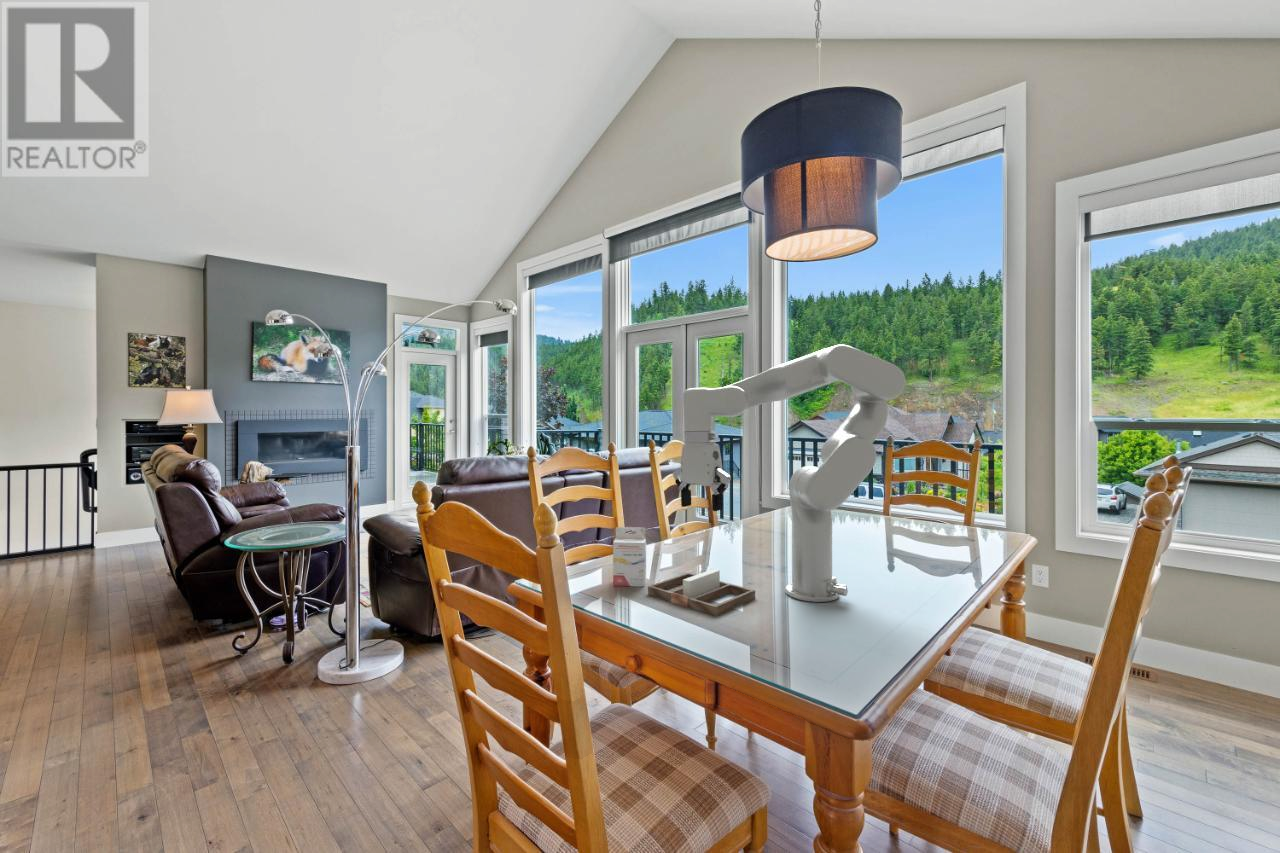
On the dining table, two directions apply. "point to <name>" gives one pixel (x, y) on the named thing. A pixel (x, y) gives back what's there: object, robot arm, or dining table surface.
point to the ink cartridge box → (629, 557)
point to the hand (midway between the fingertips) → (701, 508)
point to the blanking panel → (701, 583)
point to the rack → (702, 595)
